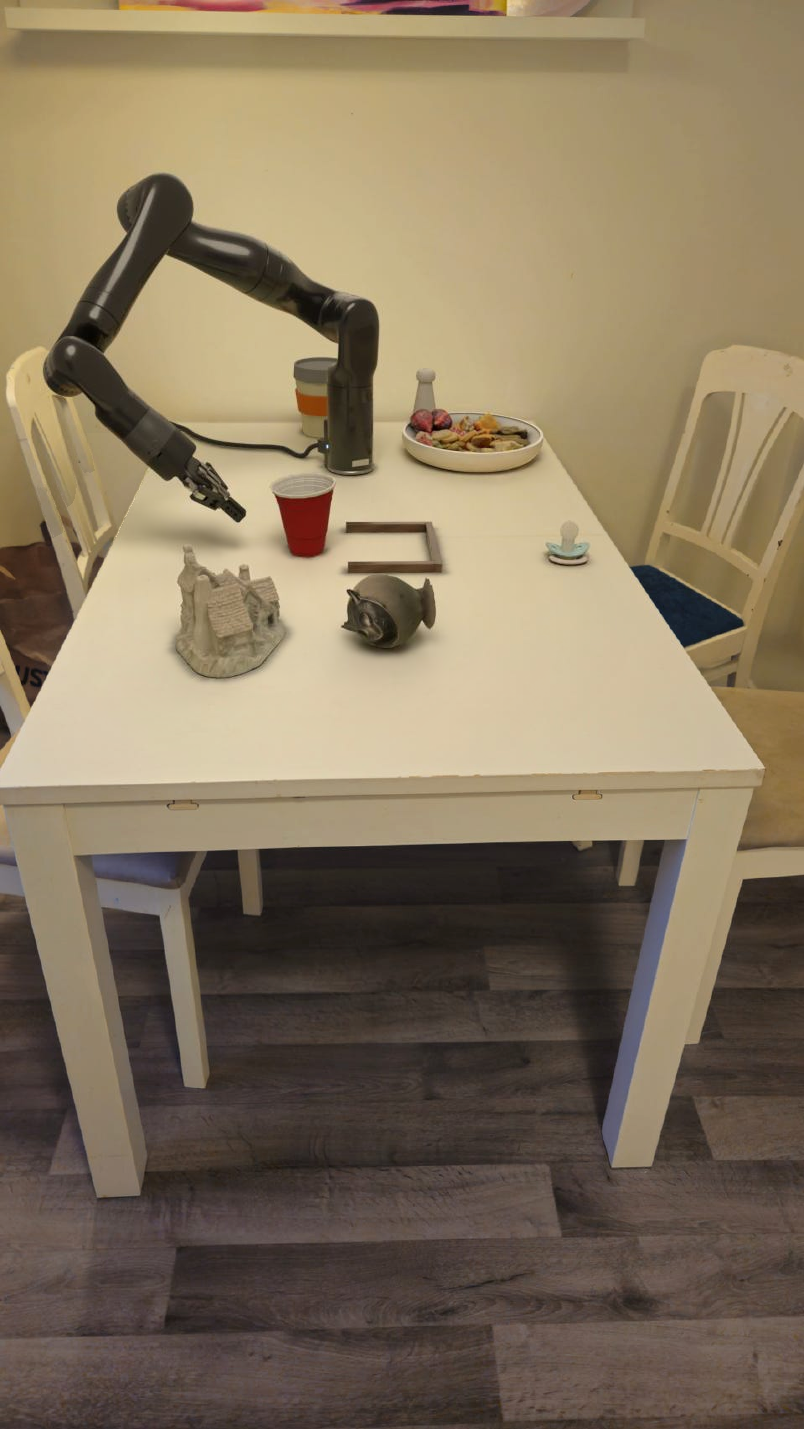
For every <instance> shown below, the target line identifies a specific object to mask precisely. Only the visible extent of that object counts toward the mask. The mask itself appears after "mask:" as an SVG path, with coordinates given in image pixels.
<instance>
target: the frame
mask: <svg viewBox="0 0 804 1429" xmlns="http://www.w3.org/2000/svg"><path fill="white" fill-rule="evenodd" d="M434 529H435V528H434V525H433V521H345V532H346V533H425V536H426V541H427V545H428V549H429V554H430V558H431V560H412V561H411V560H399V561H398V560H397V561H396V560H393V561H391V560H389V561H388V560H387V561H386V560H384V561H382V560H381V561H379V560H378V561H377V560H376V561H375V560H374V561H373V560H372V561H368V560H367V561H347V573H348V574H384V573H387V574H388V573H389V574H391V573H392V574H393V573H394V574H395V573H396V574H397V573H401V574H402V573H442V572H443V561H442V558H441V553H440V550H439V546H438V542H437V538H436V533H435V530H434Z"/></svg>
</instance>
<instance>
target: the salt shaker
mask: <svg viewBox="0 0 804 1429" xmlns="http://www.w3.org/2000/svg"><path fill="white" fill-rule="evenodd" d="M415 377H416V381H418V383H417V388H416V393H415V399H414V404H413V409H412V415H413V414H414V413H415V412H416V411H418V410H420V409H426V410H429V411H430V412H432V411H433V410H435V409H437V406H436V400H435V393H434V386H433V382H434V381H435V380H436V372H435V370H434V369H432V368H420V369H418V370H417V371H416V374H415ZM412 415H411V416H412Z"/></svg>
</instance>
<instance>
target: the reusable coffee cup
mask: <svg viewBox="0 0 804 1429" xmlns="http://www.w3.org/2000/svg"><path fill="white" fill-rule="evenodd" d="M337 359H338V357H330V356H329V357H327V356H313V357H305V358H300V359H297V360H295V361H294V362H293V374H292V376H293V379H294V380H295V386H296V388H295V389H294V392H295V393H294V394H295V398H296V404H297V410H298V412H299V414H300V418H301V419H300V420H301V425H302V430H303V434H304V435H305V436H308V437H312V438H319V439H321V438H324V420H325V419H327V385H326V371H327V368H328V367H329V366H330V365H332V364H335V363H336V362H337Z"/></svg>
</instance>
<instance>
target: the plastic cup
mask: <svg viewBox="0 0 804 1429" xmlns="http://www.w3.org/2000/svg"><path fill="white" fill-rule="evenodd" d="M336 485H337V480H336V479H335V477H334V476H331V475H329V474H327V473H320V472H301V473H294V474H288V475H286V476H282V477H280V478H277V479H275V480H274V481H272V482H271V484H270V486H269V489H270V491H271V493H272V494H273V495H274V498H275V499H276V503H277V505H278V509H279V510H278V511H279V513H280V518H281V522H282V527H283V530H284V533H285V536H286V543H287V547H288V548H289V552H290V553H291V554H292V555H293V556H296V557H299V558H312V557H317V556H319V555H321V554H323V553H324V549H325V547H326V541H327V533H328V529H329V523H330V514H331V508H332V502H333V496H334V495H333V494H334V489H335V487H336Z"/></svg>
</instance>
